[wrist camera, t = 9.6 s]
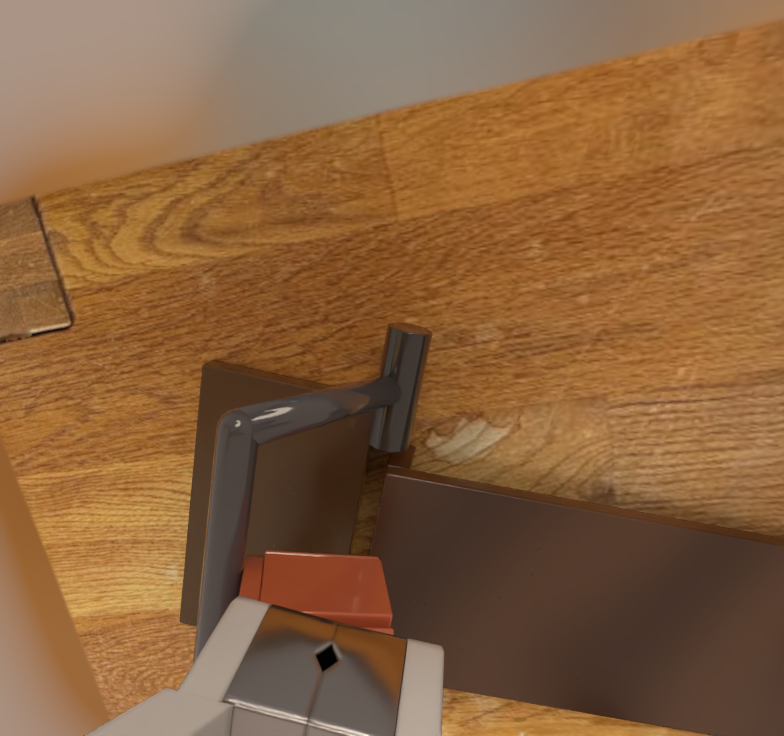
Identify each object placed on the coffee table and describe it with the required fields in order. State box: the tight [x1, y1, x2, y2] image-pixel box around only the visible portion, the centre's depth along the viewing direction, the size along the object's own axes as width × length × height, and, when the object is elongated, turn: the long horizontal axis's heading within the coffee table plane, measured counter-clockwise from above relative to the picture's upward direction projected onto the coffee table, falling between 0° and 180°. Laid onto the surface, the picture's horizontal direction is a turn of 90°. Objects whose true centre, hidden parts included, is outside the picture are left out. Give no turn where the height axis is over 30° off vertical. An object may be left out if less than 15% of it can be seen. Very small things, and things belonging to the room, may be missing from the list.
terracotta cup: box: [193, 323, 432, 664], centre depth 18 cm, size 11×16×7 cm
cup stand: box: [180, 360, 372, 626], centre depth 21 cm, size 8×14×10 cm, turn 170°
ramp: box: [369, 446, 784, 736], centre depth 23 cm, size 26×10×3 cm, turn 79°
